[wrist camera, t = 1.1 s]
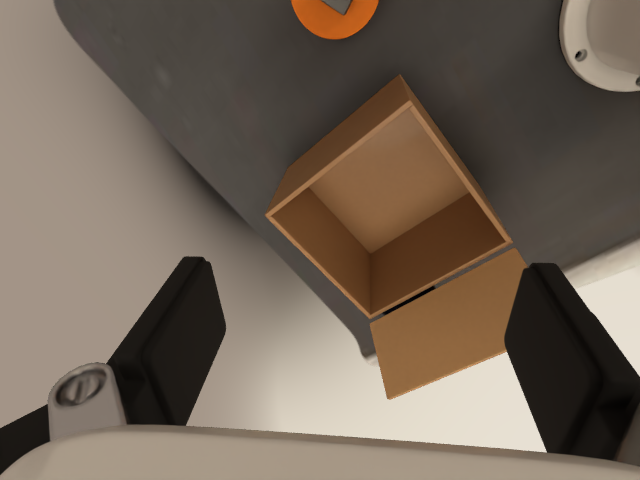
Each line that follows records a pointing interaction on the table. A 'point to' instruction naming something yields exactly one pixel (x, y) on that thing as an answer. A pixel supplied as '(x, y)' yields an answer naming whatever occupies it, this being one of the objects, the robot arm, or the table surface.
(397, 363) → the flap
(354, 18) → the orange cylinder
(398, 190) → the carton
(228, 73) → the table surface
